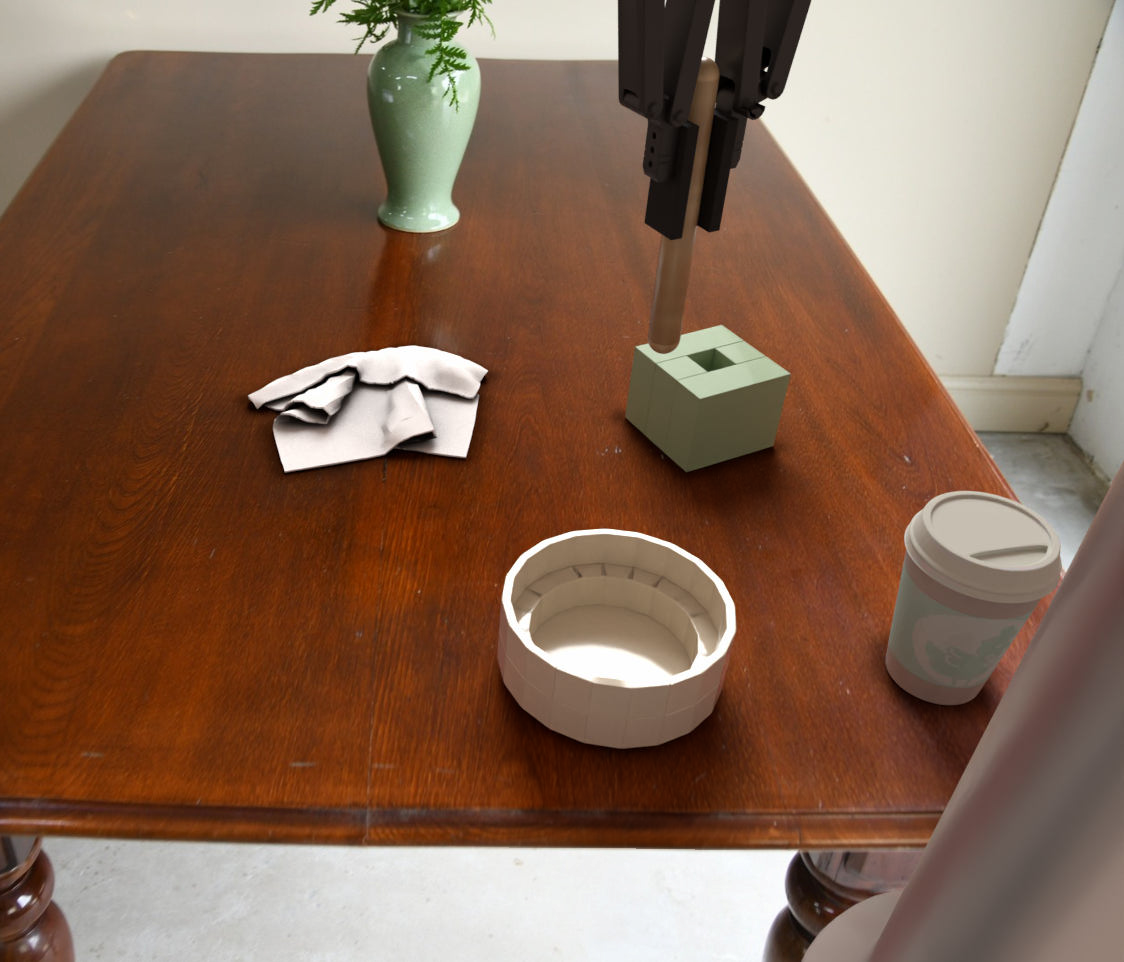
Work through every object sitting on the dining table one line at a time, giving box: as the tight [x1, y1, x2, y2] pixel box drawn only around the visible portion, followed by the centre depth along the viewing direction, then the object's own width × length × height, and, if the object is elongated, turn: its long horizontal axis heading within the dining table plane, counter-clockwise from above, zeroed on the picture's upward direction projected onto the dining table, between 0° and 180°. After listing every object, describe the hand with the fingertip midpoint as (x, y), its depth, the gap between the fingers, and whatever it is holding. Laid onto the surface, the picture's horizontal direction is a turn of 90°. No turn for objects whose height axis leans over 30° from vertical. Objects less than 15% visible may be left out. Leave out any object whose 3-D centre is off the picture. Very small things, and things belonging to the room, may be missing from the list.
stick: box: [647, 56, 720, 354], centre depth 66 cm, size 2×2×18 cm
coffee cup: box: [884, 490, 1063, 706], centre depth 69 cm, size 8×8×12 cm
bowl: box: [496, 528, 738, 750], centre depth 71 cm, size 14×14×6 cm
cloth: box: [247, 345, 489, 474], centre depth 97 cm, size 20×22×2 cm
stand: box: [624, 324, 792, 473], centre depth 93 cm, size 9×9×7 cm
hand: (681, 226), depth 66 cm, fingers closed on stick, 2 cm apart
